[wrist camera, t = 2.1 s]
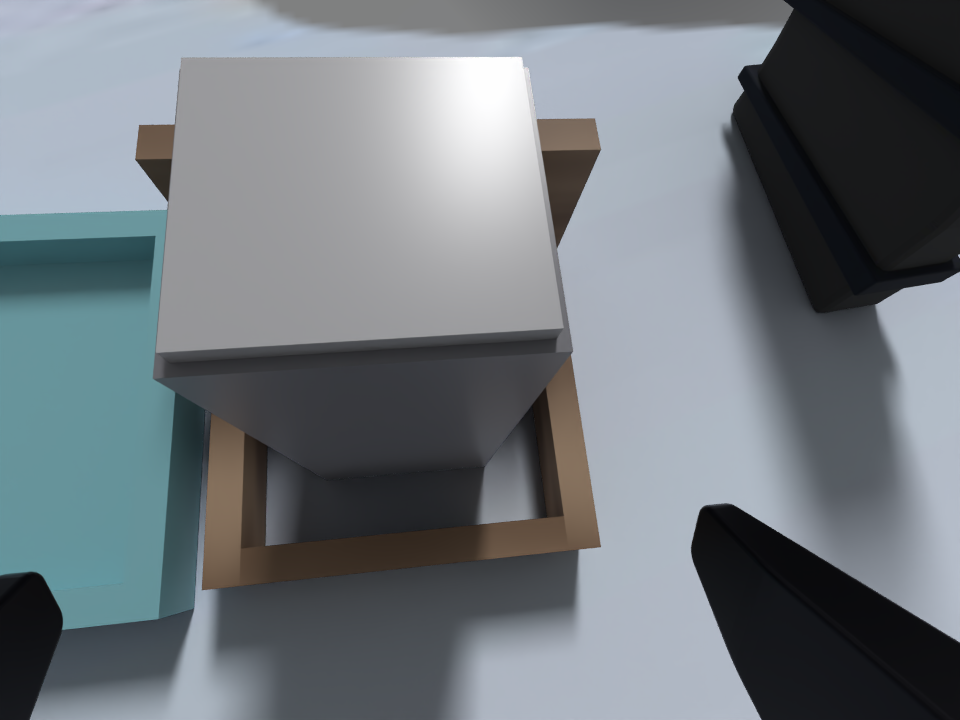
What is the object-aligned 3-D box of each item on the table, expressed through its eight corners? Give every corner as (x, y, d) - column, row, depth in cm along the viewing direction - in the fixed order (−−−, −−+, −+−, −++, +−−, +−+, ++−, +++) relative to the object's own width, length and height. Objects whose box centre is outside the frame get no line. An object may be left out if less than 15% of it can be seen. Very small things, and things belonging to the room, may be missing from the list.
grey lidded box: (484, 466, 20) (580, 341, 7) (326, 480, 19) (137, 369, 7) (471, 335, 21) (532, 47, 9) (325, 344, 20) (168, 47, 8)
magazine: (868, 380, 20) (1327, -209, 9) (695, 197, 29) (823, -215, 18) (955, 364, 21) (1487, -211, 10) (759, 189, 29) (922, -216, 18)
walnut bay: (579, 545, 19) (680, 550, 11) (232, 583, 18) (84, 616, 10) (538, 261, 22) (594, 118, 15) (243, 275, 21) (139, 125, 13)
